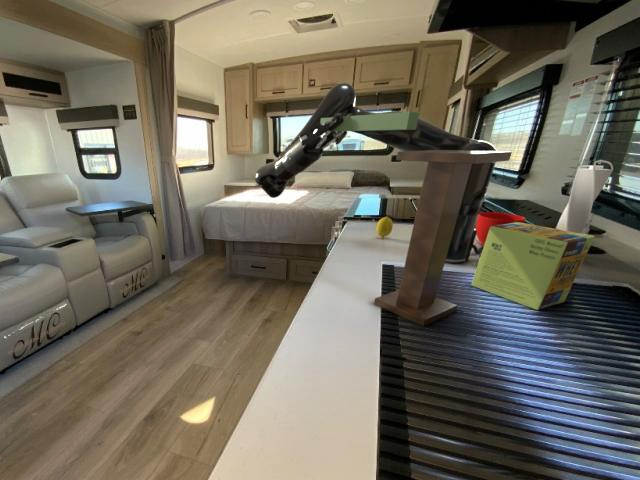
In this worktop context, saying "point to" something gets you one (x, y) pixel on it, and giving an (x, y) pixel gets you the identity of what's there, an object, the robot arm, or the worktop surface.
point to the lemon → (384, 227)
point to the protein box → (530, 263)
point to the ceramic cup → (493, 223)
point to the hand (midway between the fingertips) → (346, 117)
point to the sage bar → (377, 122)
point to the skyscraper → (583, 197)
